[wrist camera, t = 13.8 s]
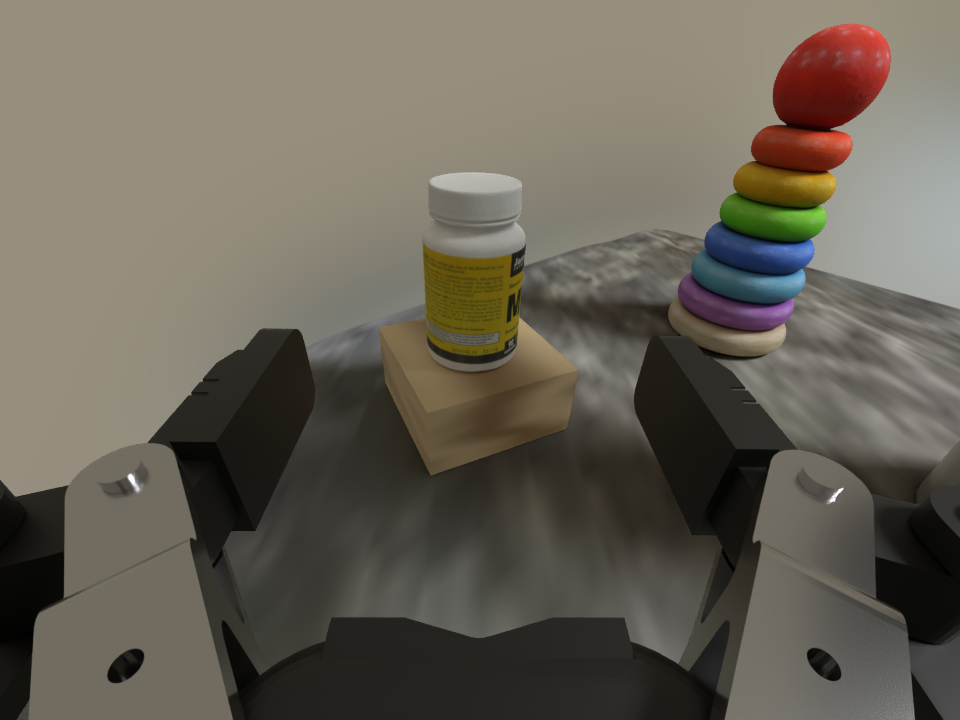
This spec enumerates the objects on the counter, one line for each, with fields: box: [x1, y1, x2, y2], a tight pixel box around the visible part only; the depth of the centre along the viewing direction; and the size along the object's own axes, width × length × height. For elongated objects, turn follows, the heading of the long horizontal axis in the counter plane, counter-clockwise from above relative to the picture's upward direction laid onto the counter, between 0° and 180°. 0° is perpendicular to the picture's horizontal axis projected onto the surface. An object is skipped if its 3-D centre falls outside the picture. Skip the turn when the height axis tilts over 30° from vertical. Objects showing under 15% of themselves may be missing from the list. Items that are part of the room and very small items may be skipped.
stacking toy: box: [668, 24, 891, 357], centre depth 28 cm, size 8×8×19 cm
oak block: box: [379, 317, 578, 476], centre depth 24 cm, size 8×8×4 cm
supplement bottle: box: [422, 172, 526, 372], centre depth 21 cm, size 5×5×8 cm
